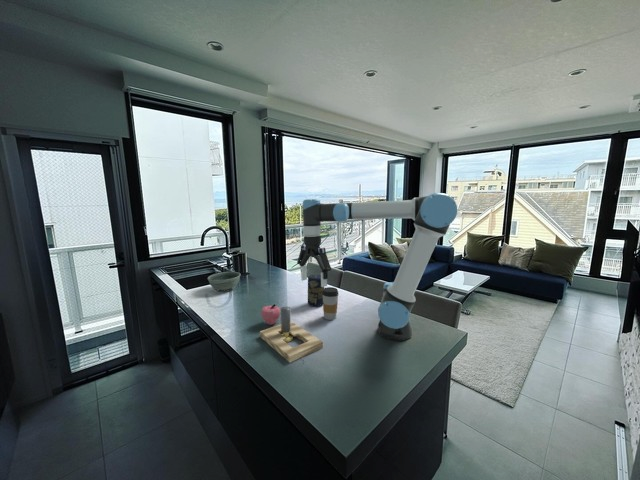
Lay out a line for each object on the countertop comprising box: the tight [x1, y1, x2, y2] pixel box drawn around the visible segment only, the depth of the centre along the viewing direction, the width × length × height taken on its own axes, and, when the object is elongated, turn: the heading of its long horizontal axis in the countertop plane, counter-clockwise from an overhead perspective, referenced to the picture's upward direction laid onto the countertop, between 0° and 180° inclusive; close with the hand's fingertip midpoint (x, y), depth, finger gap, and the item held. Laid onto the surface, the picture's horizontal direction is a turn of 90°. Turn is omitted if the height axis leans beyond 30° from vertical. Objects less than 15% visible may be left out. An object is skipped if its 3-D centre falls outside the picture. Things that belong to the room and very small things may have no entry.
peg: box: [280, 306, 294, 343], centre depth 113 cm, size 6×6×14 cm
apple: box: [260, 303, 281, 326], centre depth 127 cm, size 10×9×10 cm
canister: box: [307, 273, 325, 307], centre depth 151 cm, size 10×10×18 cm
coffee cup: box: [322, 286, 339, 321], centre depth 134 cm, size 8×8×15 cm
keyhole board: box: [259, 320, 324, 363], centre depth 111 cm, size 24×16×3 cm, turn 40°
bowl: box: [207, 271, 241, 293], centre depth 175 cm, size 21×21×10 cm
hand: (313, 283), depth 116 cm, fingers open, 13 cm apart
